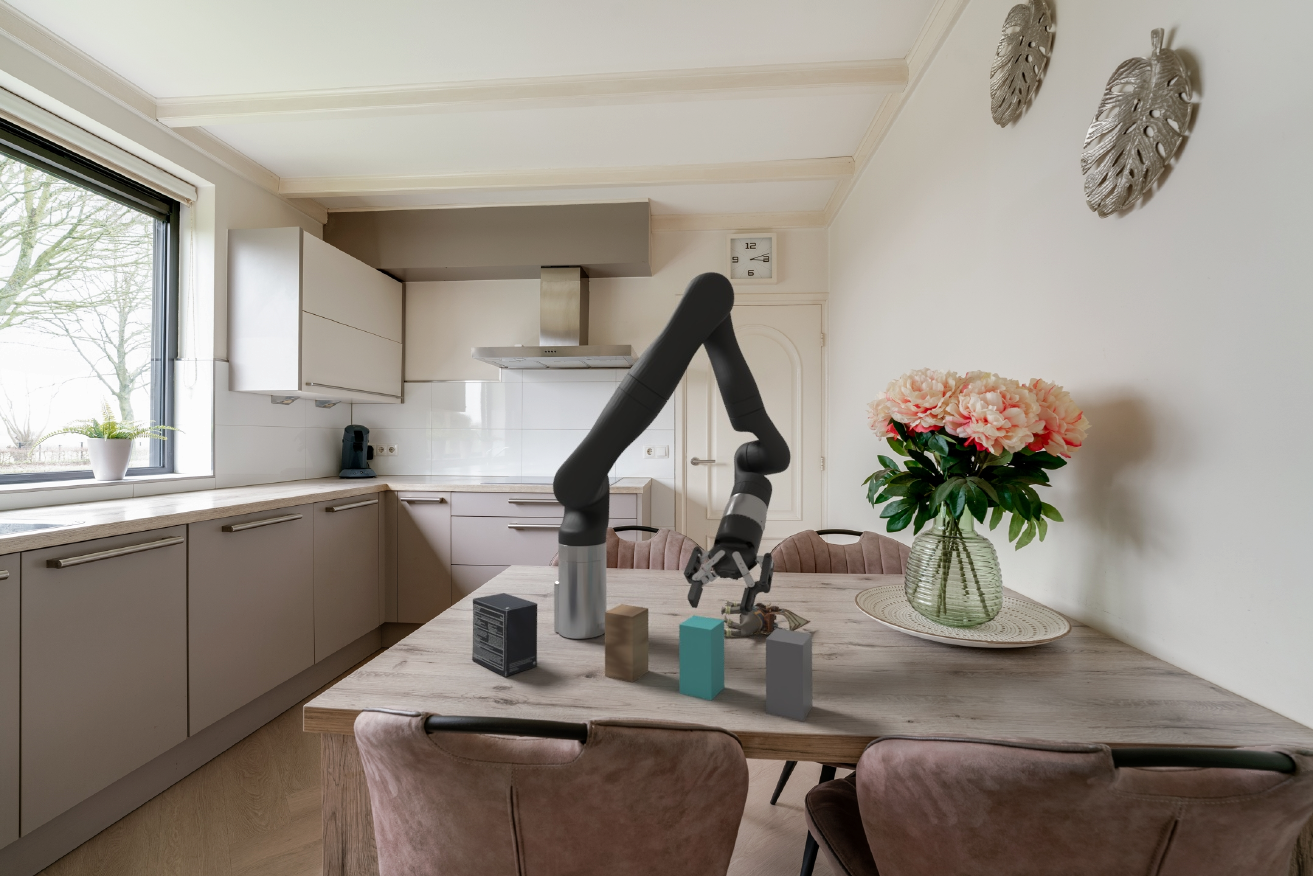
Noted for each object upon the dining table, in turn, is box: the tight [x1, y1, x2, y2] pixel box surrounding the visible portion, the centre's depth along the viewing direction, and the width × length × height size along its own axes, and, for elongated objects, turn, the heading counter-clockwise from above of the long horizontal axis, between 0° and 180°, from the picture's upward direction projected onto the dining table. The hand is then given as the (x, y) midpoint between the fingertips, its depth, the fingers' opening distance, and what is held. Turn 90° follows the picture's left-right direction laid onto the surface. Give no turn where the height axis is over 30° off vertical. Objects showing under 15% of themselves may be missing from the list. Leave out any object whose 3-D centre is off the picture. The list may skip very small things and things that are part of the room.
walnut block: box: [604, 603, 649, 683], centre depth 90 cm, size 5×5×10 cm
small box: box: [471, 592, 538, 678], centre depth 95 cm, size 11×6×10 cm, turn 47°
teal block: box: [678, 614, 725, 701], centre depth 84 cm, size 5×5×10 cm
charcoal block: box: [765, 627, 813, 722], centre depth 78 cm, size 5×5×10 cm
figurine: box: [720, 600, 812, 638], centre depth 110 cm, size 20×6×17 cm
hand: (717, 608), depth 89 cm, fingers open, 8 cm apart
